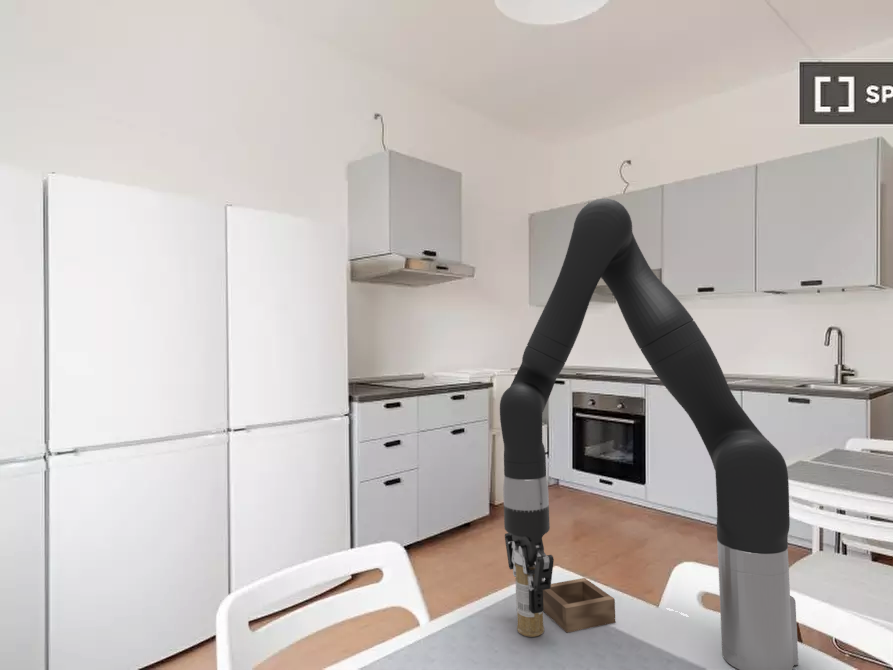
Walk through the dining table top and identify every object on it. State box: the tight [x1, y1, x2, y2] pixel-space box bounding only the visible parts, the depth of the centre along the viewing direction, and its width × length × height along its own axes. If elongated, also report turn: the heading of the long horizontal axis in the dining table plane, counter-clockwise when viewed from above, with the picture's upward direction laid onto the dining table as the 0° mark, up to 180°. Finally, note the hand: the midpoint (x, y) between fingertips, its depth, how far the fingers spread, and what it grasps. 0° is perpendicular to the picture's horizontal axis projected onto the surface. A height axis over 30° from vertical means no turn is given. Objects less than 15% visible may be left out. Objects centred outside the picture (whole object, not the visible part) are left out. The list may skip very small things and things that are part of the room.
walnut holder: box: [543, 577, 616, 633], centre depth 98 cm, size 9×9×4 cm
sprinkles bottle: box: [514, 549, 545, 638], centre depth 93 cm, size 5×5×14 cm
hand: (529, 604), depth 93 cm, fingers open, 4 cm apart
